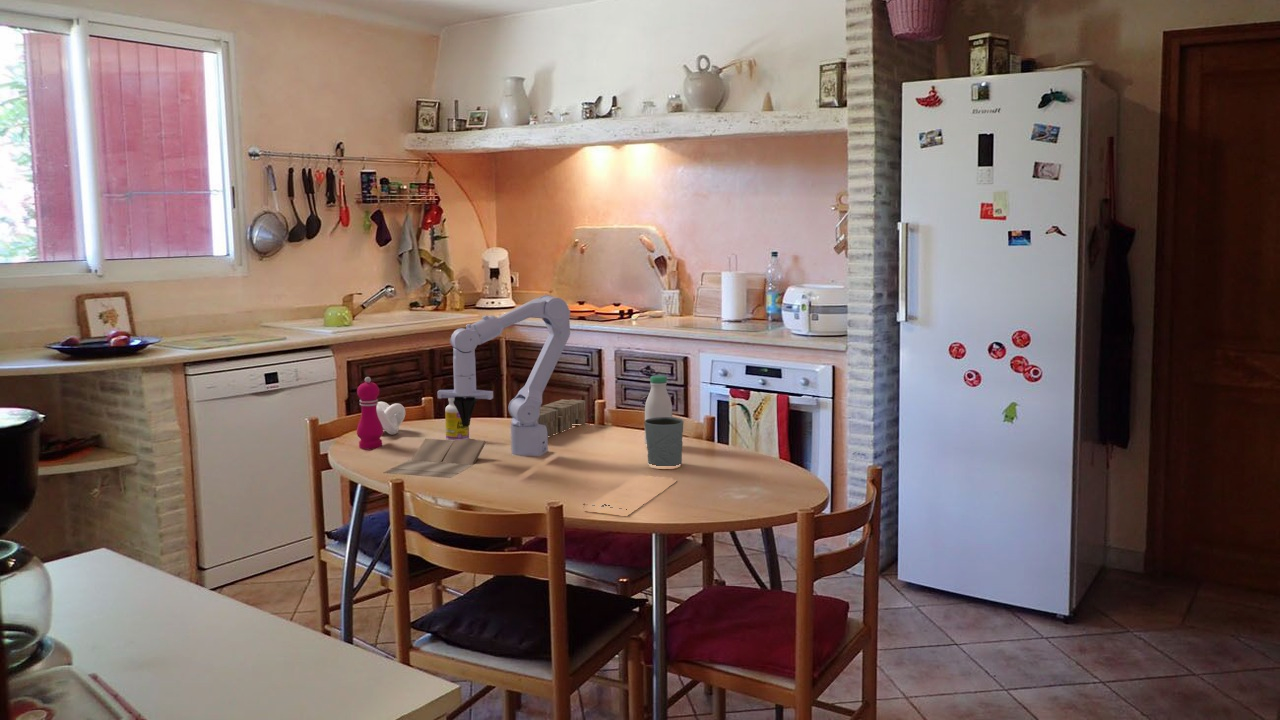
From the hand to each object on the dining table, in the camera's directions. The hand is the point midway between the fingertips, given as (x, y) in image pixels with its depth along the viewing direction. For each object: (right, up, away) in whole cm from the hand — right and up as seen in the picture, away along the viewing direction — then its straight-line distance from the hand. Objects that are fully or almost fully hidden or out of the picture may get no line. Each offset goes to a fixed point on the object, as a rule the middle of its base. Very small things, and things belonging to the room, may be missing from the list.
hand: (466, 425), depth 271 cm
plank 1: (-9, -8, +2) cm, 12 cm away
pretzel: (-31, -5, +36) cm, 48 cm away
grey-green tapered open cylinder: (+52, -10, -3) cm, 53 cm away
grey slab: (-8, -11, -9) cm, 17 cm away
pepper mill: (-30, -7, +19) cm, 36 cm away
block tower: (+19, -5, +37) cm, 42 cm away
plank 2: (0, -8, 0) cm, 8 cm away
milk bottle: (+51, -7, +17) cm, 54 cm away
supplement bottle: (-7, -6, +26) cm, 28 cm away
